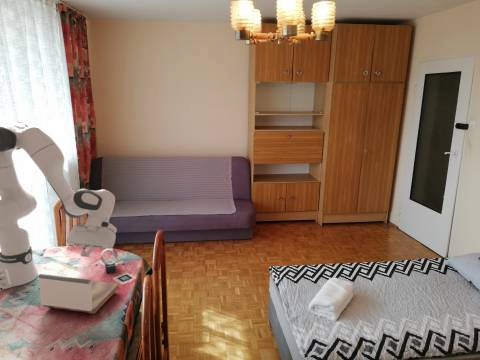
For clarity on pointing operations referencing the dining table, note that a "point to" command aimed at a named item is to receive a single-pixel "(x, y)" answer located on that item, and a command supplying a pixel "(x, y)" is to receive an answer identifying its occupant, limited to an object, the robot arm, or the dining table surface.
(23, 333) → the dining table surface
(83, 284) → the panel
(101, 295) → the brown flat block
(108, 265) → the watch
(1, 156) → the robot arm
